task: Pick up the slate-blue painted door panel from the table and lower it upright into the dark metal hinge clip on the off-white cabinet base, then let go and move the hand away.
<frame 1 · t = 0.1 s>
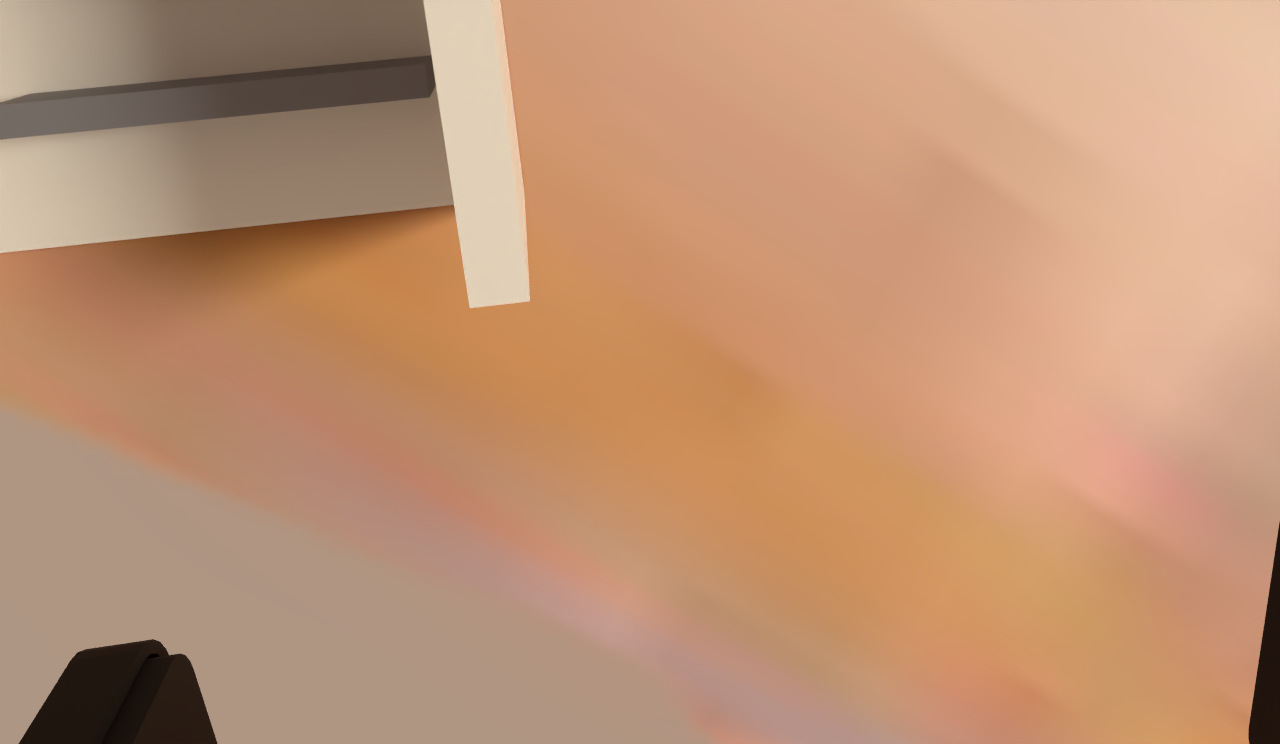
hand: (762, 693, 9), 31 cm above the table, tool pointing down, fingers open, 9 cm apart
cabinet base: (233, 43, 35), on the table
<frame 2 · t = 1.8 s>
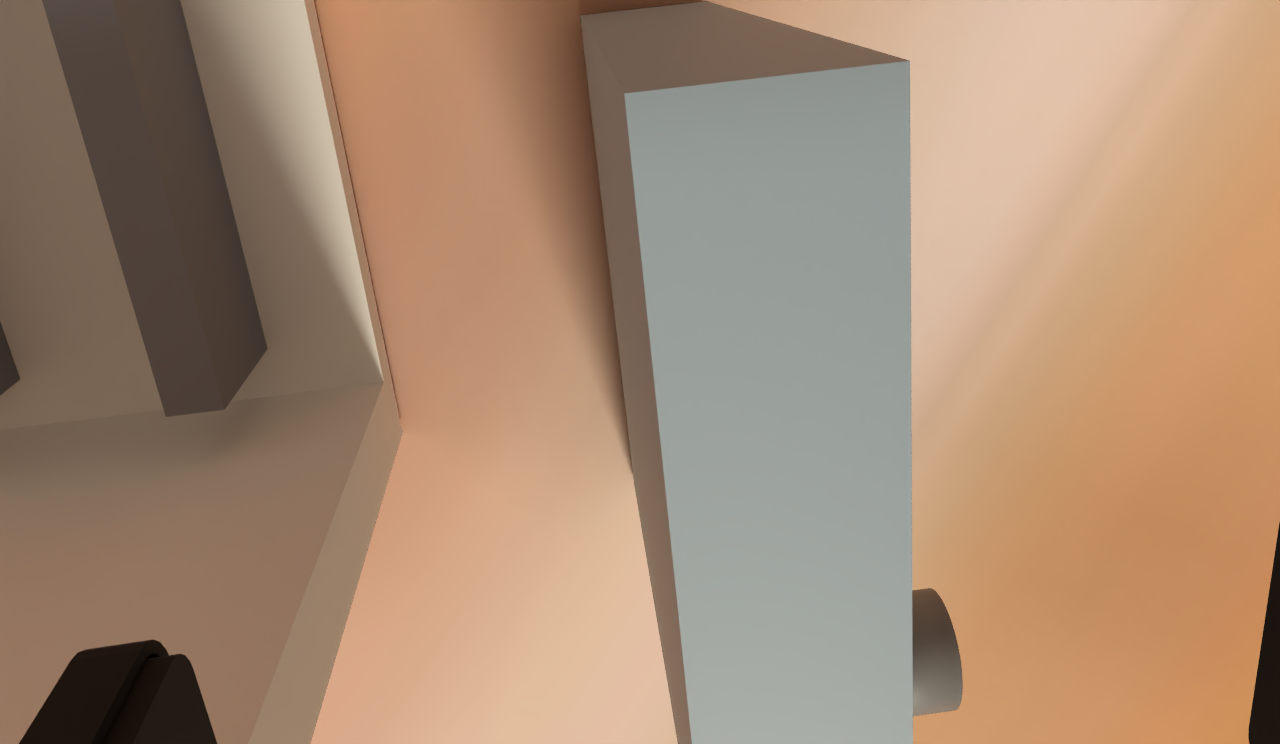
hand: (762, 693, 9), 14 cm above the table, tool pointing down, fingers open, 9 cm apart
door panel: (667, 263, 22), on the table
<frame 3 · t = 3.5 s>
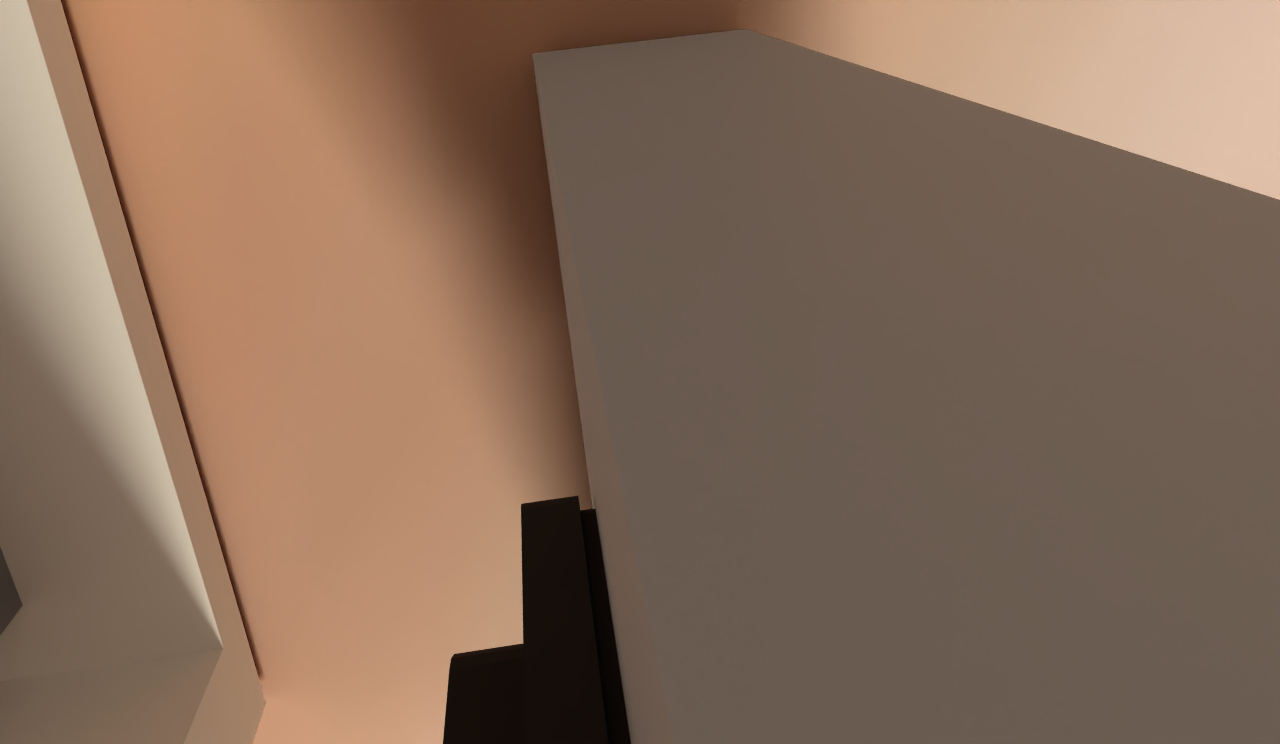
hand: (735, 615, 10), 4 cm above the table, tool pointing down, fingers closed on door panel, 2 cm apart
door panel: (678, 444, 14), on the table, touching gripper
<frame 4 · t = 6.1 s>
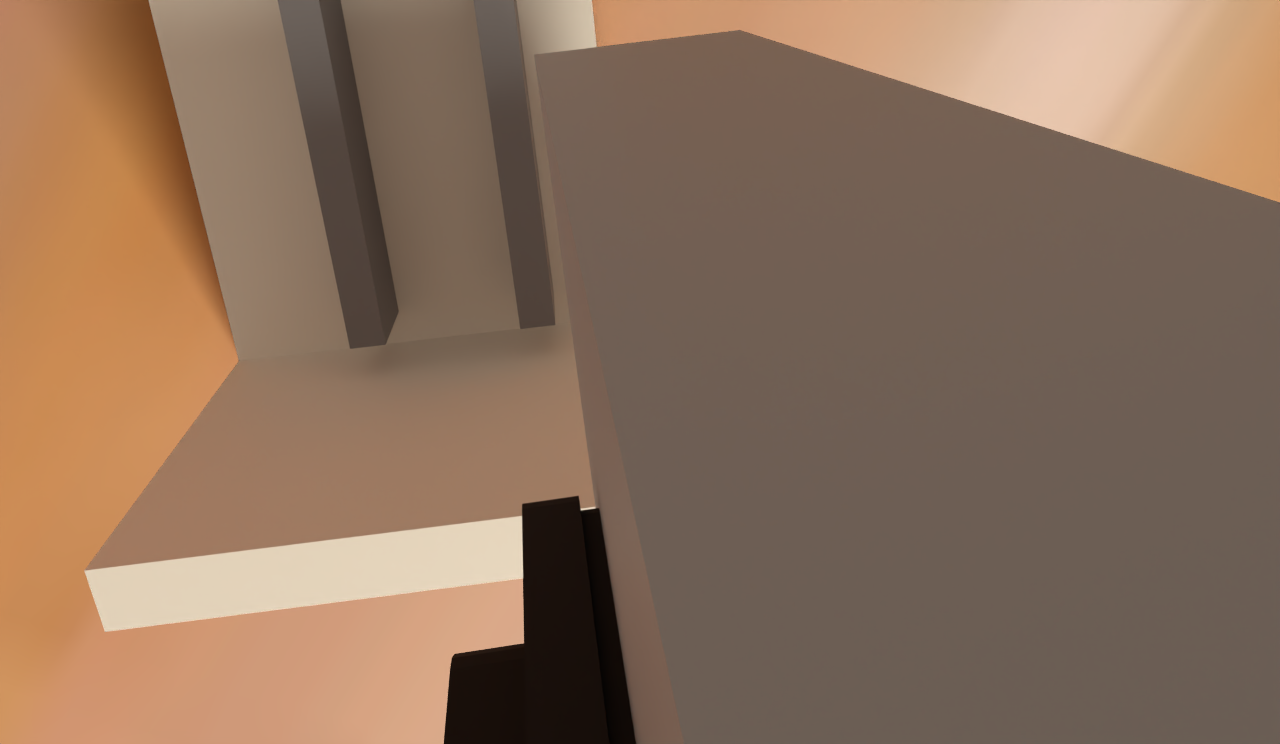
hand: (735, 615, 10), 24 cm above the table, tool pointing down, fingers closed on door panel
door panel: (676, 433, 14), point 20 cm above the table, touching gripper
cabinet base: (393, 89, 31), on the table
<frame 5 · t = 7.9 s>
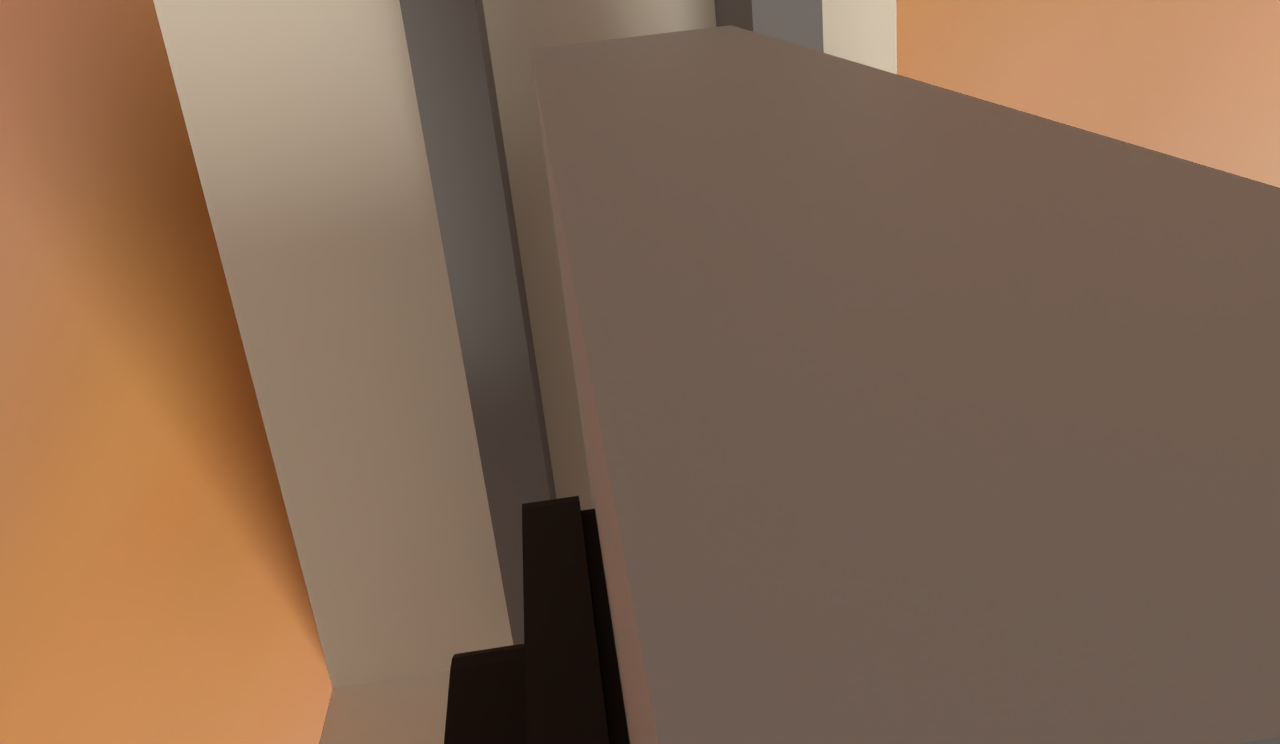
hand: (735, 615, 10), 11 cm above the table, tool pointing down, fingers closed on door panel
door panel: (670, 420, 14), point 6 cm above the table, touching gripper
cabinet base: (575, 293, 20), on the table
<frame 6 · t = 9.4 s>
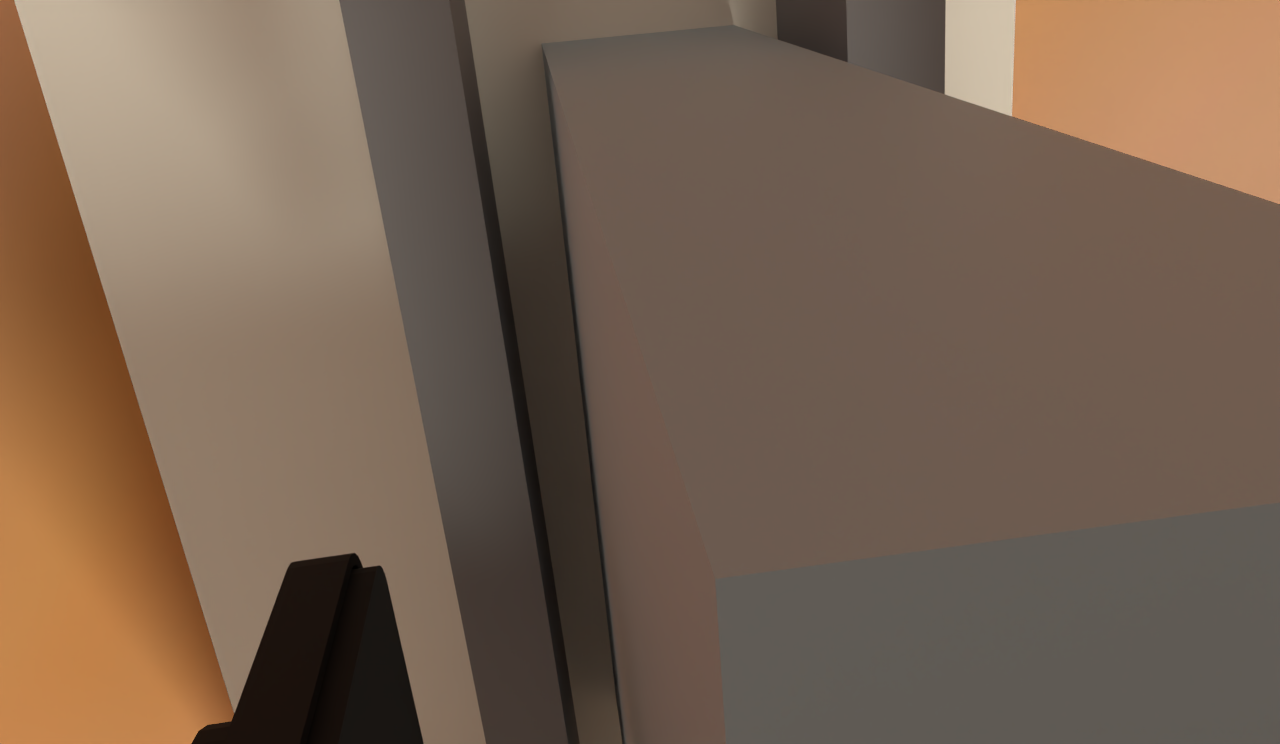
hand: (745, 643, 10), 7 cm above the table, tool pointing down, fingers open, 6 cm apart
door panel: (667, 402, 15), point 1 cm above the table, touching cabinet base
cabinet base: (589, 387, 16), on the table
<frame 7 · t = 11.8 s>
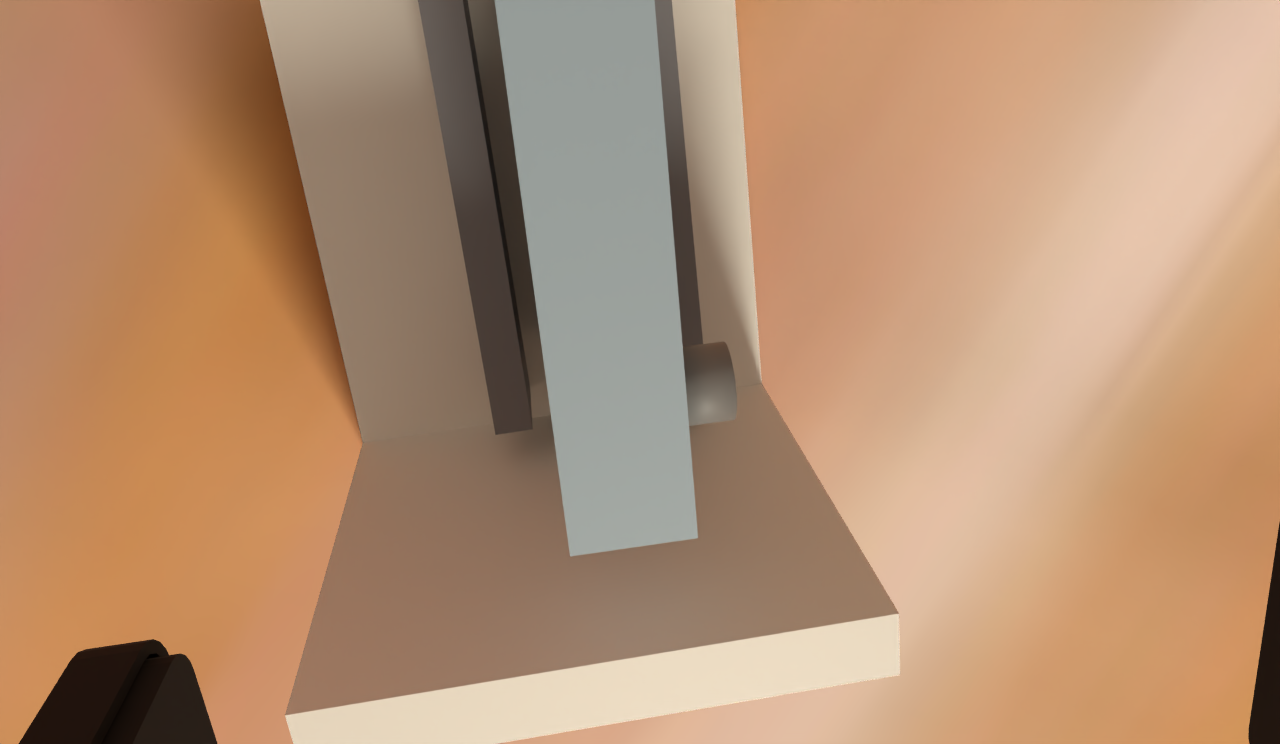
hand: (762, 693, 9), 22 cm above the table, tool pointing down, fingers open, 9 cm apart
door panel: (566, 159, 29), point 1 cm above the table, touching cabinet base
cabinet base: (527, 157, 29), on the table
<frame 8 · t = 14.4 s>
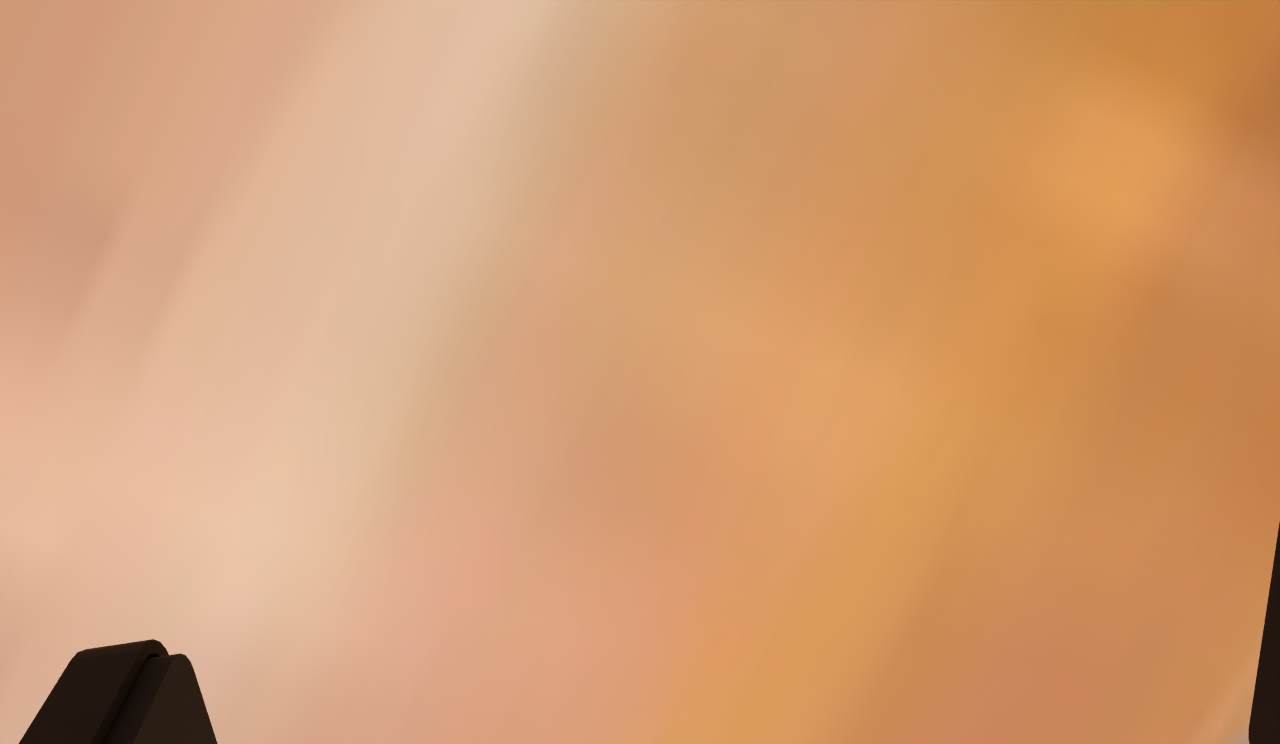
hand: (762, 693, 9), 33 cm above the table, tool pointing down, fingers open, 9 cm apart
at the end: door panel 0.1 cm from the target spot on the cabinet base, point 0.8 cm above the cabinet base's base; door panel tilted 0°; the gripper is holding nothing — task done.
